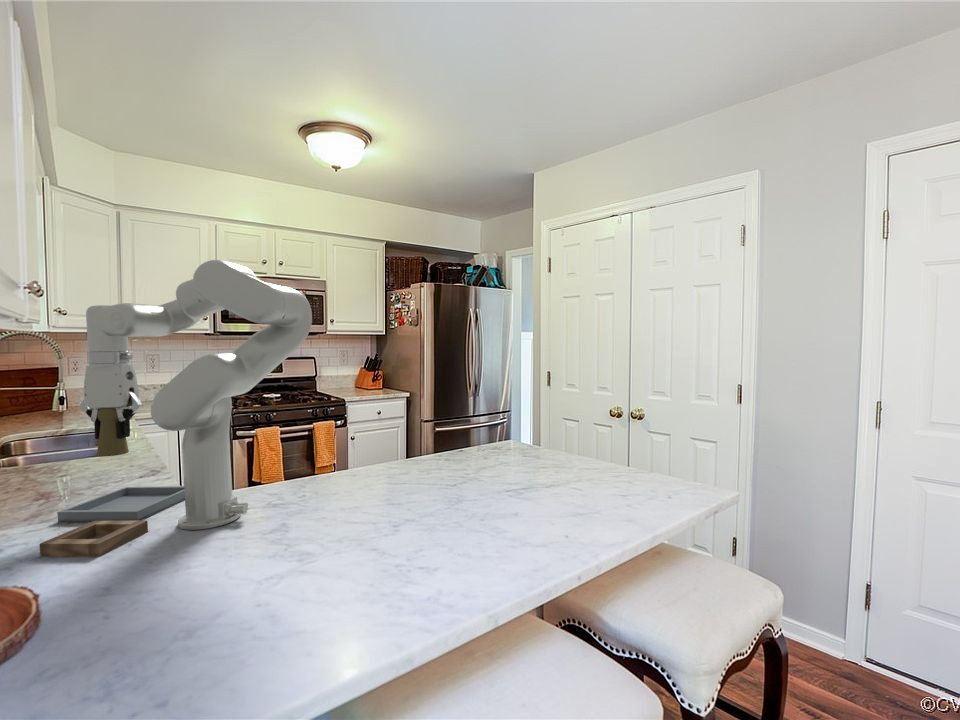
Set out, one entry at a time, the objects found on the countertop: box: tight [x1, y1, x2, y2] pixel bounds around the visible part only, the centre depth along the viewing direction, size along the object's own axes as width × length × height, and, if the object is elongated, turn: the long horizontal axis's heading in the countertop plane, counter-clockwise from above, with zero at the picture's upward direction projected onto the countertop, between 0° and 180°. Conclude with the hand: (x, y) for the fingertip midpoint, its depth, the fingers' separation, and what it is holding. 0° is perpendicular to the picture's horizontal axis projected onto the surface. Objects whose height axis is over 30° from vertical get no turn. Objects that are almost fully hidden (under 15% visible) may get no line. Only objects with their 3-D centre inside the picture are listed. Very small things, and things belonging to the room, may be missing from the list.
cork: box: [96, 408, 130, 458], centre depth 116 cm, size 6×6×11 cm
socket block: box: [39, 519, 149, 557], centre depth 102 cm, size 12×12×2 cm
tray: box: [56, 485, 185, 524], centre depth 125 cm, size 20×20×2 cm
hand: (112, 436), depth 116 cm, fingers closed on cork, 4 cm apart
